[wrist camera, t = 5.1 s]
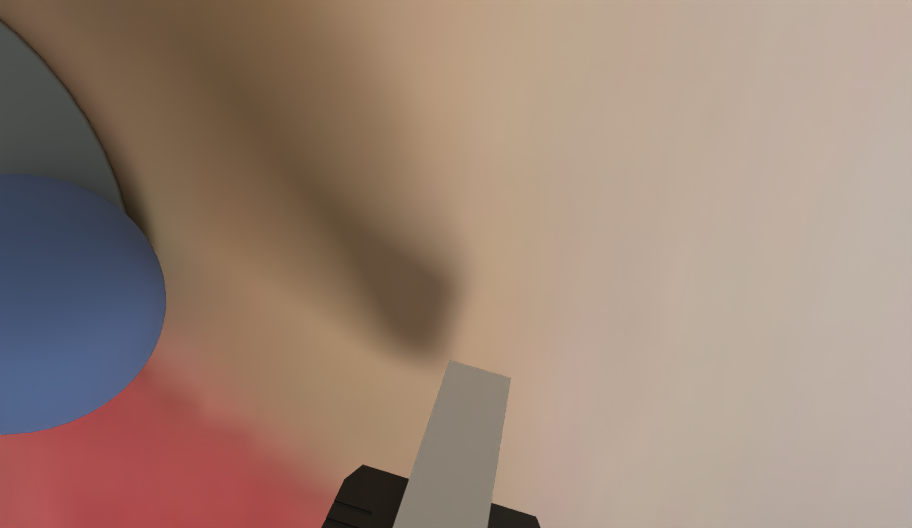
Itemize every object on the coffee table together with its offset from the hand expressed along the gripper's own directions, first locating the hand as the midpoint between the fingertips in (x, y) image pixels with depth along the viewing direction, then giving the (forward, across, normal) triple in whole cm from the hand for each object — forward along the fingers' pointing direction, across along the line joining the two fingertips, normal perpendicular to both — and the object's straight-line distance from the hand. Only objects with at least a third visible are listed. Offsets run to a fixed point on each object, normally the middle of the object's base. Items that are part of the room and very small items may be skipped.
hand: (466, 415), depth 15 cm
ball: (-1, +11, 0) cm, 11 cm away
